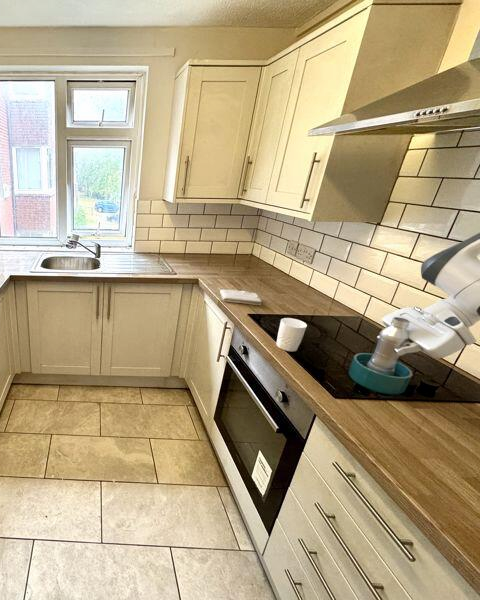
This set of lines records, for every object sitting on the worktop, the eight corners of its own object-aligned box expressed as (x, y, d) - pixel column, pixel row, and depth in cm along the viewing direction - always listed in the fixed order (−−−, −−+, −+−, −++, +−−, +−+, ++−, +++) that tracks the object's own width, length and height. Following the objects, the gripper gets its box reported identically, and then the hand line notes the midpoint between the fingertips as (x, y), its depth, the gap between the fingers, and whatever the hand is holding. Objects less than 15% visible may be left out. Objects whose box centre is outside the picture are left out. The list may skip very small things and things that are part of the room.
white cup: (277, 339, 121) (284, 315, 117) (301, 347, 116) (309, 322, 112) (271, 346, 116) (278, 322, 112) (296, 355, 111) (303, 329, 107)
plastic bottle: (387, 375, 98) (413, 318, 90) (392, 387, 93) (421, 327, 85) (360, 369, 101) (384, 312, 93) (364, 380, 96) (389, 321, 88)
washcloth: (262, 306, 151) (263, 300, 150) (222, 302, 155) (223, 296, 154) (256, 297, 161) (257, 291, 160) (219, 293, 166) (220, 288, 164)
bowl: (390, 373, 101) (397, 357, 99) (414, 399, 89) (423, 382, 87) (341, 365, 105) (346, 349, 103) (358, 389, 94) (365, 372, 91)
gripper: (408, 297, 96) (360, 323, 102) (469, 328, 78) (407, 357, 83) (419, 312, 97) (371, 336, 102) (482, 345, 78) (420, 373, 84)
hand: (387, 346), depth 93 cm, fingers closed on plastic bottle, 6 cm apart
